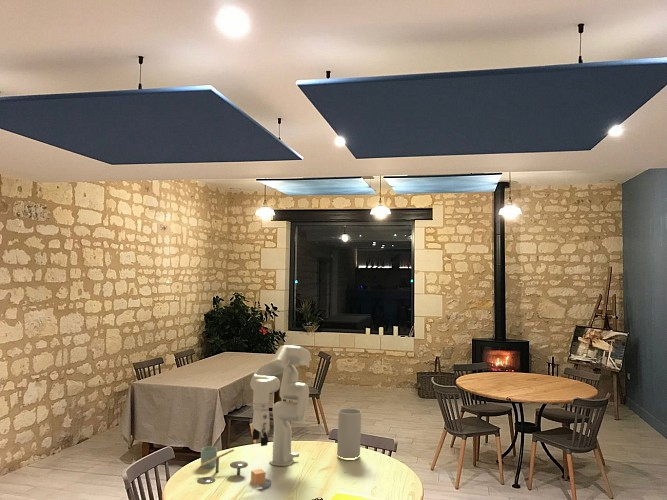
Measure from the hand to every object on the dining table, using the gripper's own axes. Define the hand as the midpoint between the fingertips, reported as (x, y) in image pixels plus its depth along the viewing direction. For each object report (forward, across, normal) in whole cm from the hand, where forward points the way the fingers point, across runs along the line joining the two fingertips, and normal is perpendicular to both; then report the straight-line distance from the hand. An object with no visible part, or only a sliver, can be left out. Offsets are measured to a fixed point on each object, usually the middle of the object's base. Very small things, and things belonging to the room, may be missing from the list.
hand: (259, 442), depth 249 cm
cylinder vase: (+20, +13, -59) cm, 64 cm away
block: (+18, 0, 0) cm, 18 cm away
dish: (+20, 0, 0) cm, 20 cm away
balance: (+20, +15, +13) cm, 28 cm away
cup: (+20, +30, +14) cm, 39 cm away
